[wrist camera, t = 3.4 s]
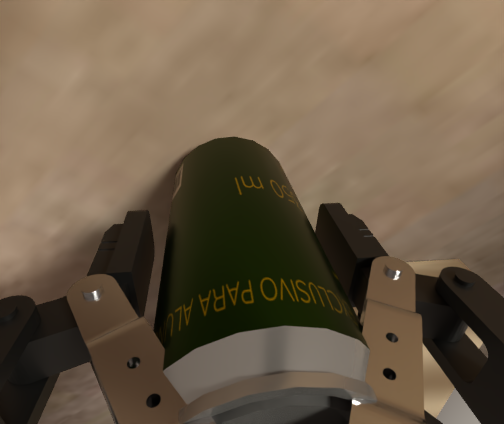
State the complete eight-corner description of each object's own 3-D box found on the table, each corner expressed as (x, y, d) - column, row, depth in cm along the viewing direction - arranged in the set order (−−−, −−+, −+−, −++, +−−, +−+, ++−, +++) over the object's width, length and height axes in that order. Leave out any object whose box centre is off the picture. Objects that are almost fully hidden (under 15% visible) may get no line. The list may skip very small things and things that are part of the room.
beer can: (175, 227, 18) (143, 527, 7) (173, 127, 15) (116, 391, 5) (274, 228, 18) (365, 497, 8) (289, 134, 16) (452, 367, 6)
